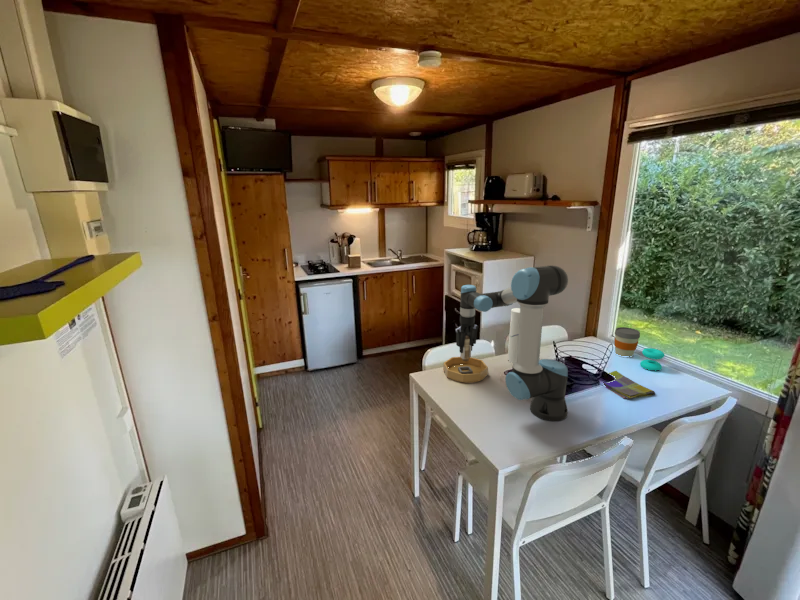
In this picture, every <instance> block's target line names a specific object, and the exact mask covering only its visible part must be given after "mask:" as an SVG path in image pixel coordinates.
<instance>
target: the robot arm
mask: <svg viewBox="0 0 800 600" xmlns="http://www.w3.org/2000/svg"><path fill="white" fill-rule="evenodd" d="M568 284H569V277H568V273H567V272H566V271H565V270H564V268H561V267H560V266H557V265H544V266H534V267H526V268H525V267H524V268H520V269H519V270H518V271H516V272H515V273H514V275H513V277H512V280H511V283H510V287H508V288H506V289H505V288H504V289H502V290H500V291H492V292H491V291H490V292H485V293H480V292H477V287H476V285H473V284H465V285H462V286H461V287H460V301H459V303H460V304H459V306H460V307H459V311H460V312H459V314H460V315H459V326H458V327H457V328H456V327H455V328H454V330H455V344H456V346H457V347H459V355H460V356H459V357H461V358H462V359H465V347H464V343H465V337H466V336H469V337H470V343H469V358H471V357H472V351H473V347H474V346H475V344H476V343H477V337H478V330H479V325H477V324H475V321H476V310H477V311H478V312H479V311H480V312H485V313H487V312H489V311H490V310H491V309H493V308H500V307H508V306H512V305H514V303H518V304H519V305H520V306H519V307H520V320H519V335H518V350H517V361H516V362H514V363H512V367H511V368H512V370H511V371H510V372H507V373H506V375H505V385H506V388H507V390H508V392H509V394H510V395H511V396H512V397H514V398H515V399H516V400H518V401H523V400H529V399H531V401H530V407H529V410H530V412H531V413H532V414H533V415H534V416H535V417H537V418H539V419H542V420H545V421H551V422H559V421H560V422H561V421H563V420H565V419H566V418H567V417H568V413H569V411H568V405H567V402H566V390H567V383H568V377H569V375H568V373H569V372H568V371H569V370H568V366H567V365H566V364H564V363H562V362H560V361H558V360H554V359H549V358H543V359H540V358H541V357H540V356H541V355H540V354H541V343H542V331H543V321H544V320H543V318H544V307H546V306H547V305H548V304H549V299H550V296H556V295H559V294H561V293H562V292H564V291H565V289H566V288H567V286H568Z"/></svg>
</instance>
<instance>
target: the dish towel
mask: <svg viewBox="0 0 800 600" xmlns="http://www.w3.org/2000/svg"><path fill="white" fill-rule="evenodd" d="M608 373H609V374H611V375H613V376H615V378H616V379H615V381H613V382H610V383H606V382H603V383H604V385H605V386H606V387H605V388H606V389H607V390H609V391H610V392H612V393H614V394H615V395H617V396H619V397H620V398H623V399H624V400H630V399H637V398H645V397H652V395H653V396H656V392H655V390H652V389H650V388H648V387H645V386H643V385H641V384H639V383H637V382H635V381H633V380H632V379H630V378H629V377H627V376H625V375H623V374H622V373H620V372H619V371H618V370H613V371H611V372H608Z"/></svg>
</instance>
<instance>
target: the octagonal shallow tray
mask: <svg viewBox="0 0 800 600" xmlns="http://www.w3.org/2000/svg"><path fill="white" fill-rule="evenodd" d="M460 364H463V365H460ZM442 365H443V366H442V367H443V371H444V374H445V376H446V377H447V378H449V380H451V381H455V382H459V383H462V384H463V383H465V384H469V383H470V384H471V383H478V382H480V381H483V380H484V379H485V378H486V377H487V376H488V374H489V366H487V364H486V363H485V362H484V361H483V360H482V359H479V358H475V357H472V356H471V358H469V361H463V360H462V358H461V357H460V356H455V357H454V356H452V357H450V358H449V359H447V360H446V361H444V362H443V364H442ZM454 366H455V367H454ZM448 367H449V368H448Z"/></svg>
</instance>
